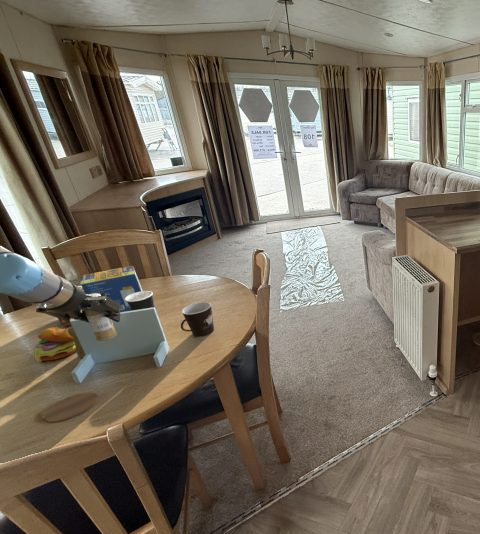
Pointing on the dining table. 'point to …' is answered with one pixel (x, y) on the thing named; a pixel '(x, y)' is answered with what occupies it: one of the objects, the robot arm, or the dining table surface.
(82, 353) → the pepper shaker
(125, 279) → the protein box
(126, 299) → the dixie cup
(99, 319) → the sprinkles bottle
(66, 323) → the tin
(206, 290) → the dining table surface
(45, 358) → the cheeseburger
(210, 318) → the coffee mug
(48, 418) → the coaster
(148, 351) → the light blue standing panel
